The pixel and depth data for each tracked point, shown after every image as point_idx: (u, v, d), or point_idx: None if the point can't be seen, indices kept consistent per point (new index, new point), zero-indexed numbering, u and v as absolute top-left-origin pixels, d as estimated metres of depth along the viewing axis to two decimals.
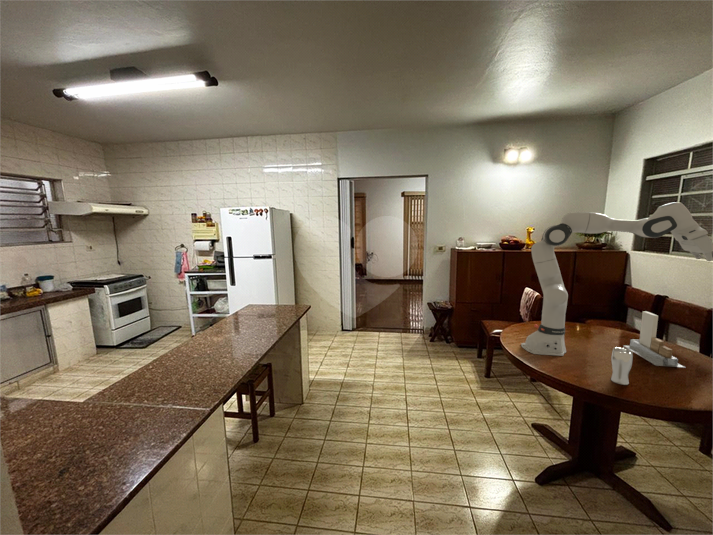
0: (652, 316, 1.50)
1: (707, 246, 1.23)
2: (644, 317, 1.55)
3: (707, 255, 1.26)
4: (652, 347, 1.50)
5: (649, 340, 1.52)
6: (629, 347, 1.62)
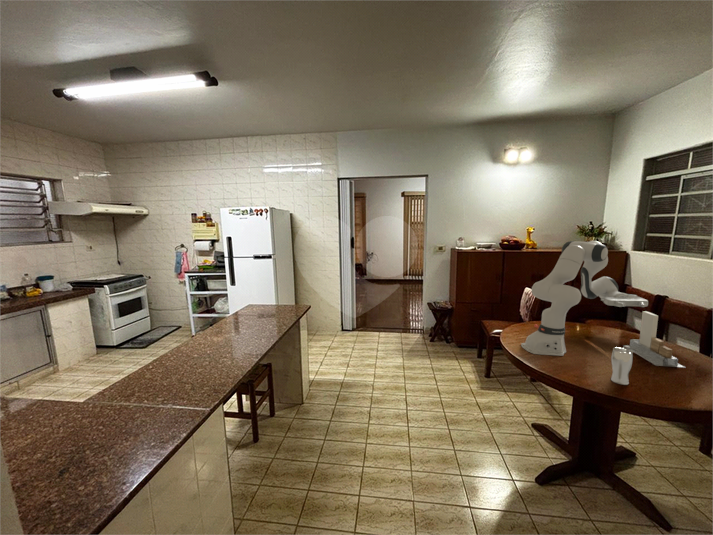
0: (652, 316, 1.50)
1: None
2: (644, 317, 1.55)
3: (643, 303, 1.66)
4: (652, 347, 1.50)
5: (649, 340, 1.52)
6: (629, 347, 1.62)
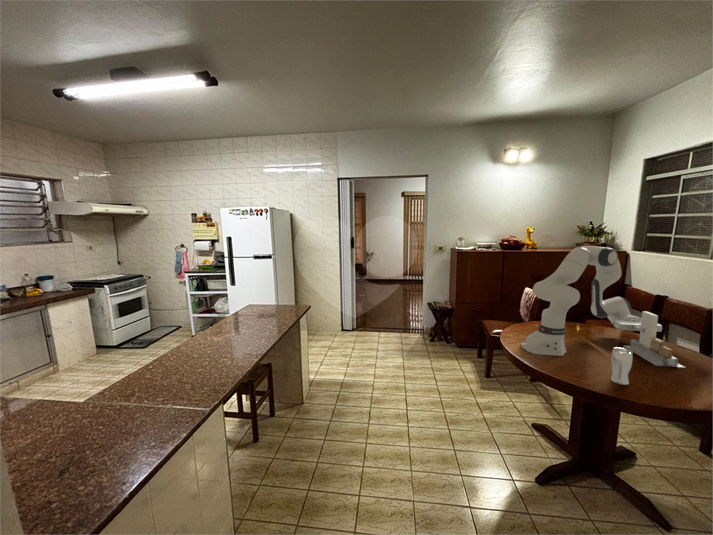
0: (652, 316, 1.50)
1: None
2: (644, 317, 1.55)
3: None
4: (652, 347, 1.50)
5: (649, 340, 1.52)
6: (629, 347, 1.62)
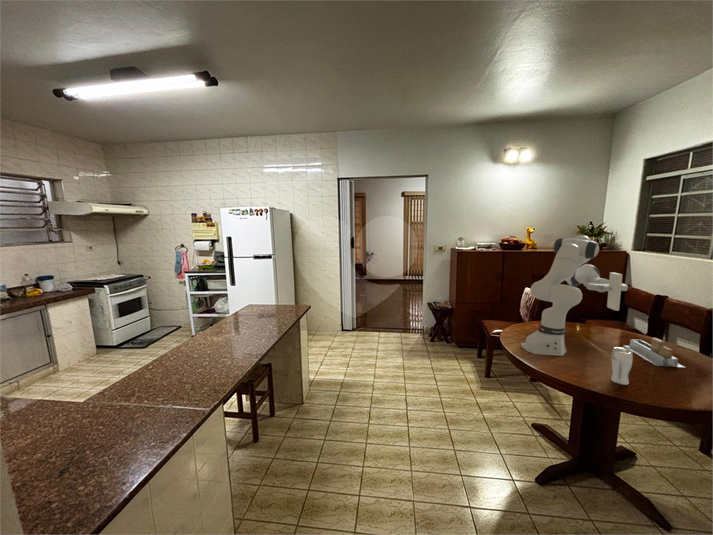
0: (617, 275, 1.69)
1: None
2: (611, 277, 1.74)
3: None
4: (652, 347, 1.50)
5: (615, 297, 1.71)
6: (629, 347, 1.62)
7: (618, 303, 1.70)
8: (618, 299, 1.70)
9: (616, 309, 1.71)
